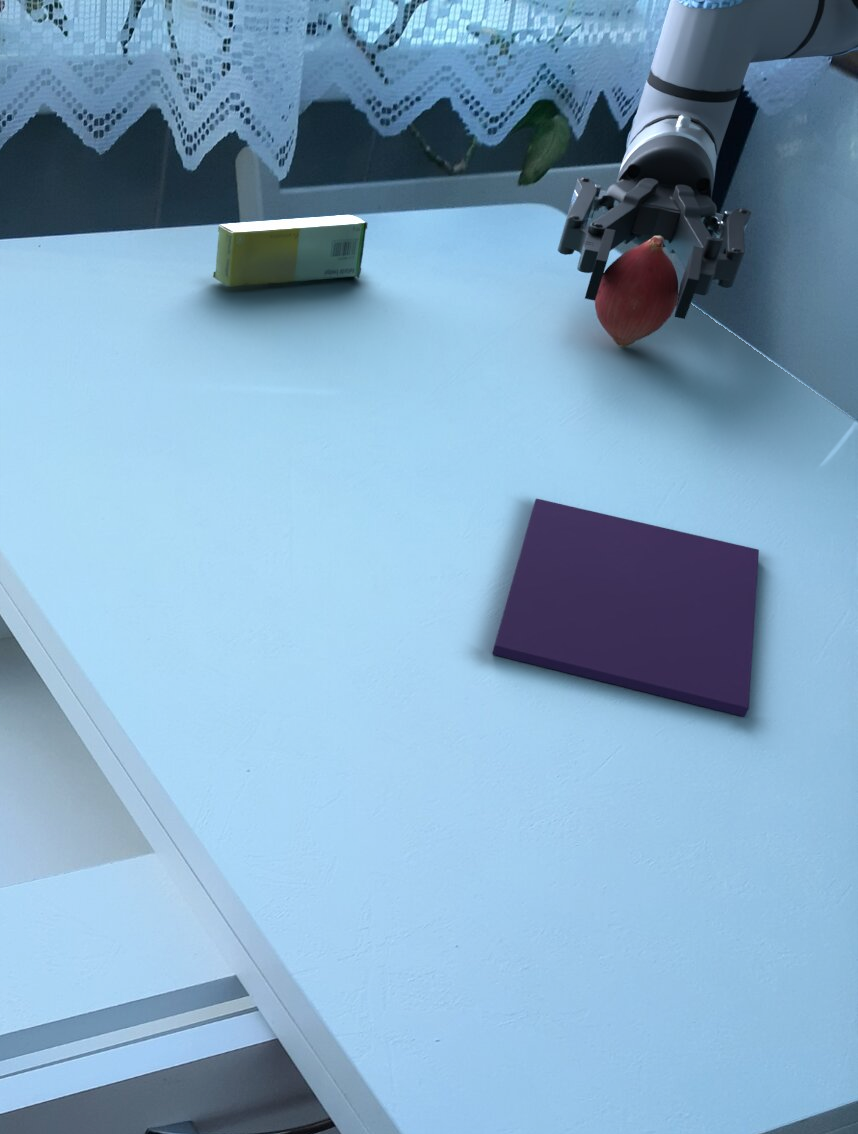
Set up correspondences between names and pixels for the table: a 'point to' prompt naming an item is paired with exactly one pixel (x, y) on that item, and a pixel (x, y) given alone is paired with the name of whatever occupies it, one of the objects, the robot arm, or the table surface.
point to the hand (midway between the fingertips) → (640, 289)
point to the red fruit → (637, 293)
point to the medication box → (290, 250)
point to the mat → (633, 606)
